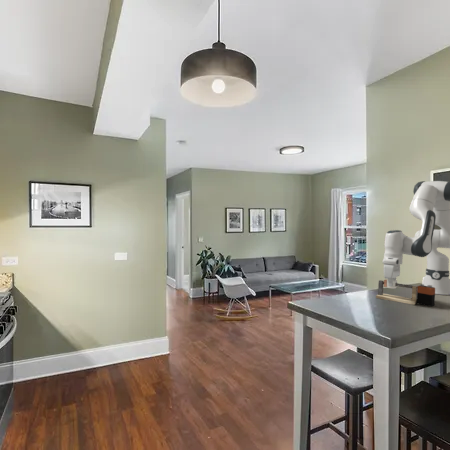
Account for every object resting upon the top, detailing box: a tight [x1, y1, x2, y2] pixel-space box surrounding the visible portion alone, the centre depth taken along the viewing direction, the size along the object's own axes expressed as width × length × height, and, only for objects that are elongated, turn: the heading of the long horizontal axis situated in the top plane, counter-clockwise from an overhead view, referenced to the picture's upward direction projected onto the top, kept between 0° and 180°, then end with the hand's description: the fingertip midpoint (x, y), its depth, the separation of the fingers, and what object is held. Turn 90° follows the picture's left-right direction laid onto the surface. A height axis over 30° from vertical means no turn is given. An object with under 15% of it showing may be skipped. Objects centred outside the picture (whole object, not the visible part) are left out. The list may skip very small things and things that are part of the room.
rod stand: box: [375, 279, 418, 306], centre depth 164 cm, size 10×18×10 cm, turn 49°
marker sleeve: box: [386, 279, 398, 289], centre depth 165 cm, size 4×4×4 cm
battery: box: [416, 283, 436, 307], centre depth 156 cm, size 4×7×10 cm, turn 37°
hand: (391, 285), depth 165 cm, fingers closed on marker sleeve, 4 cm apart
